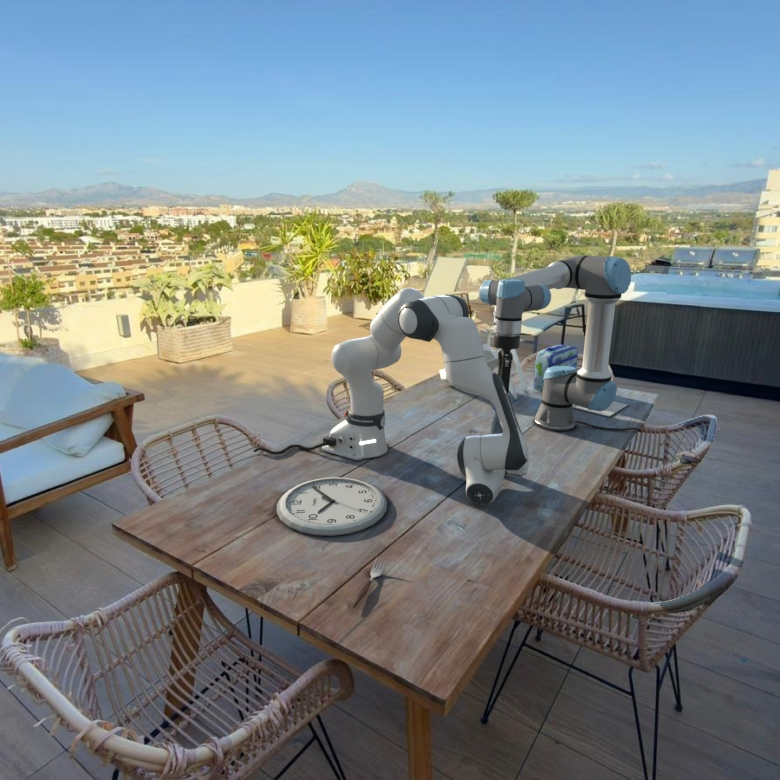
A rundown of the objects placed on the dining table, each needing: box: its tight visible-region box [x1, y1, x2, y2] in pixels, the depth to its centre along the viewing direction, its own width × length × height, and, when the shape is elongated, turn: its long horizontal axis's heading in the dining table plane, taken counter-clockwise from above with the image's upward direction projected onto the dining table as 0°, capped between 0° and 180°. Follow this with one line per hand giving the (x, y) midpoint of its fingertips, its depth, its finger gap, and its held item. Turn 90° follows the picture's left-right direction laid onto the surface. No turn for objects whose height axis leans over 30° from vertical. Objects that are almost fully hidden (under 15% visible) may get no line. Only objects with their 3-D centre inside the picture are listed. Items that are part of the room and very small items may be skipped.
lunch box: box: [533, 344, 579, 392], centre depth 247 cm, size 26×11×21 cm, turn 134°
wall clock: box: [276, 476, 388, 537], centre depth 142 cm, size 30×2×30 cm
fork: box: [352, 555, 387, 609], centre depth 110 cm, size 3×16×2 cm, turn 160°
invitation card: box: [573, 400, 629, 418], centre depth 226 cm, size 21×1×15 cm
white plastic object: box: [438, 310, 531, 400], centre depth 245 cm, size 37×45×31 cm
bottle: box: [490, 411, 503, 434], centre depth 161 cm, size 5×5×22 cm
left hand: (497, 451), depth 164 cm, fingers closed on bottle, 5 cm apart
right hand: (500, 409), depth 159 cm, fingers closed on cap, 4 cm apart
